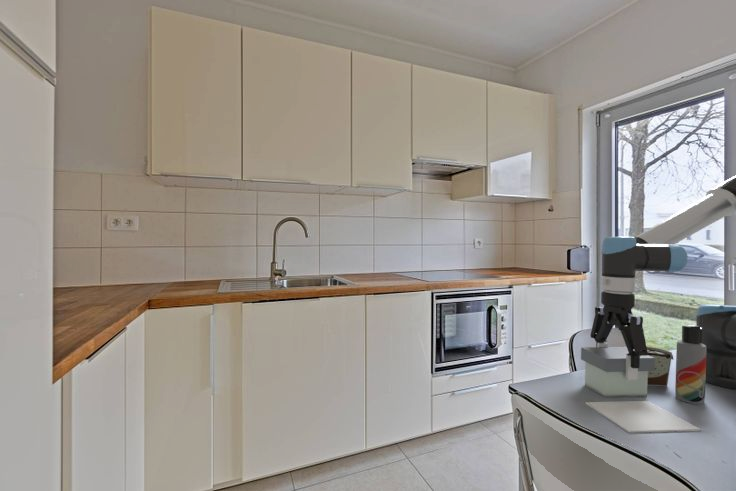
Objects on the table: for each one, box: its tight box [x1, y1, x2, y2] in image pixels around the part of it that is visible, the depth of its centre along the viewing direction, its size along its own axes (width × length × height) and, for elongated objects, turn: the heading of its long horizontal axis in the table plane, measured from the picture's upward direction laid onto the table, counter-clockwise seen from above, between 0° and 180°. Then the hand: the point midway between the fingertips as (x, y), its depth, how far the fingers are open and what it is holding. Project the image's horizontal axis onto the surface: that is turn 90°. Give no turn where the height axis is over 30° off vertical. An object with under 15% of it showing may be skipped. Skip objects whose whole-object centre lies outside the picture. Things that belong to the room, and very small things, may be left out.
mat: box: [585, 400, 701, 434], centre depth 80 cm, size 17×13×1 cm
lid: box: [580, 346, 655, 372], centre depth 94 cm, size 14×9×4 cm
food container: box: [633, 345, 675, 387], centre depth 101 cm, size 12×6×10 cm, turn 84°
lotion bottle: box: [674, 324, 706, 405], centre depth 89 cm, size 6×6×20 cm
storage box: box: [584, 361, 648, 398], centre depth 94 cm, size 12×8×9 cm, turn 94°
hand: (616, 371), depth 94 cm, fingers closed on lid, 9 cm apart
